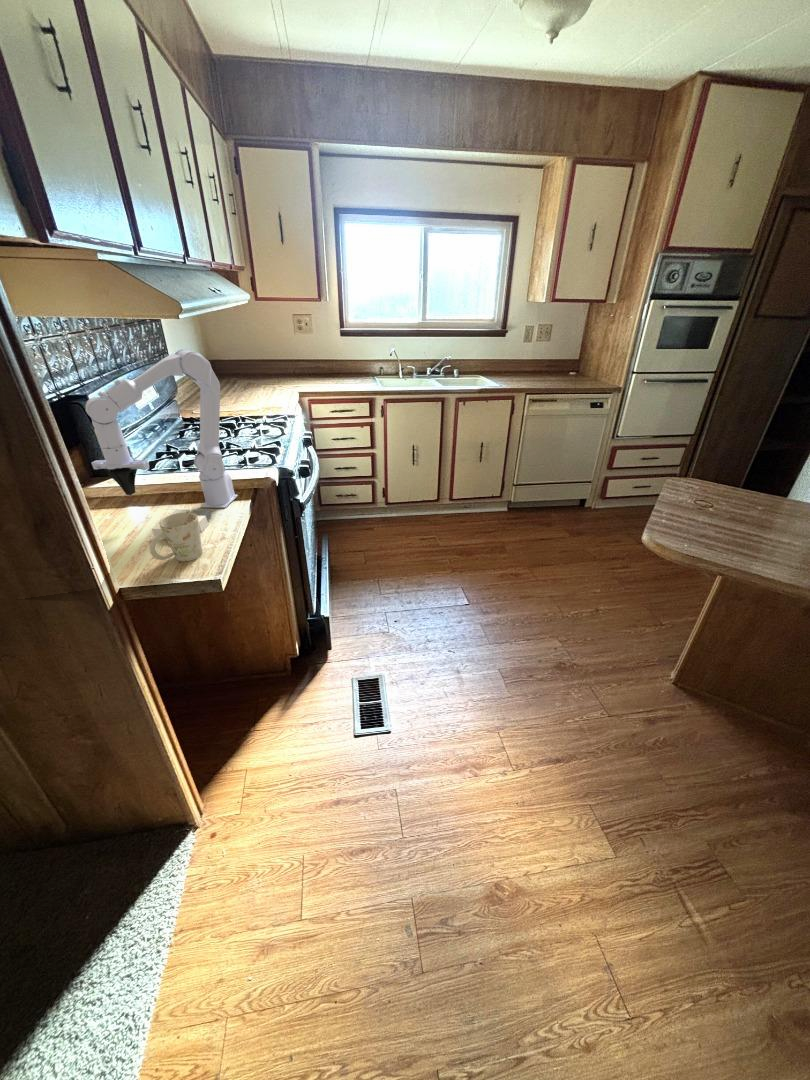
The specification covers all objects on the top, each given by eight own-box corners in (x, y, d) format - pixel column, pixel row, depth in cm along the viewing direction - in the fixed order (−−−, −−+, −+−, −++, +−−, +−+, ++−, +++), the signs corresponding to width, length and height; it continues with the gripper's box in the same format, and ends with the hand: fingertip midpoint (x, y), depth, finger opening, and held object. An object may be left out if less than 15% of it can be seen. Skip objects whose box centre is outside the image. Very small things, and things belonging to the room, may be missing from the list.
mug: (214, 551, 108) (204, 516, 103) (168, 576, 99) (155, 538, 94) (193, 543, 112) (183, 509, 107) (147, 566, 102) (134, 530, 97)
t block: (179, 518, 125) (176, 509, 124) (214, 518, 124) (212, 509, 123) (155, 538, 115) (151, 528, 113) (194, 539, 114) (191, 529, 112)
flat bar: (195, 515, 126) (193, 509, 125) (211, 516, 126) (209, 510, 125) (165, 541, 113) (163, 535, 112) (183, 542, 113) (181, 535, 112)
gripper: (76, 450, 108) (95, 499, 115) (130, 450, 107) (147, 499, 114) (95, 441, 114) (113, 488, 121) (147, 442, 113) (162, 489, 120)
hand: (130, 493), depth 118 cm, fingers closed
